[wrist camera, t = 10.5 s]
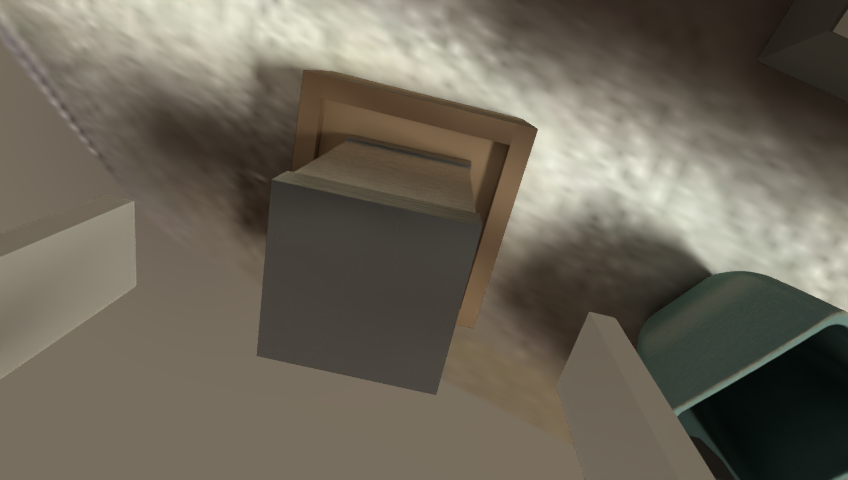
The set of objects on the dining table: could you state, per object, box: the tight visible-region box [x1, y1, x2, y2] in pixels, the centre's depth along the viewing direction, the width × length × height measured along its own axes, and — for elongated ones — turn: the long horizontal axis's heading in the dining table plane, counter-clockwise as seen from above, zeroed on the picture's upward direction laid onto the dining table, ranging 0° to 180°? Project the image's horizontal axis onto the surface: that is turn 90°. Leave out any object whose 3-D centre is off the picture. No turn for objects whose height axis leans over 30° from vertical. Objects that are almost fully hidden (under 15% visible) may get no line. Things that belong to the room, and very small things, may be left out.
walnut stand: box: [291, 70, 538, 329], centre depth 24 cm, size 11×11×5 cm
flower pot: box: [637, 271, 848, 480], centre depth 24 cm, size 9×9×9 cm
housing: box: [257, 134, 482, 395], centre depth 18 cm, size 6×6×10 cm
